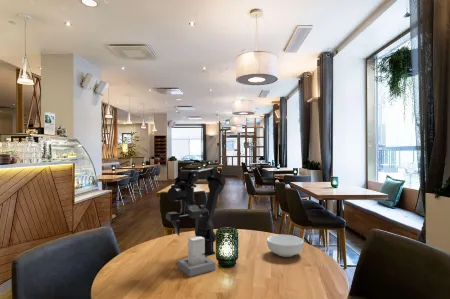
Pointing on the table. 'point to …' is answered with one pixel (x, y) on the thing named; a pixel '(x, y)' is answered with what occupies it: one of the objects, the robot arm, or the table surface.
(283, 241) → the cereal bowl
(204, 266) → the ceramic holder
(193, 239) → the skincare box
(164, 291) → the table surface
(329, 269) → the table surface
